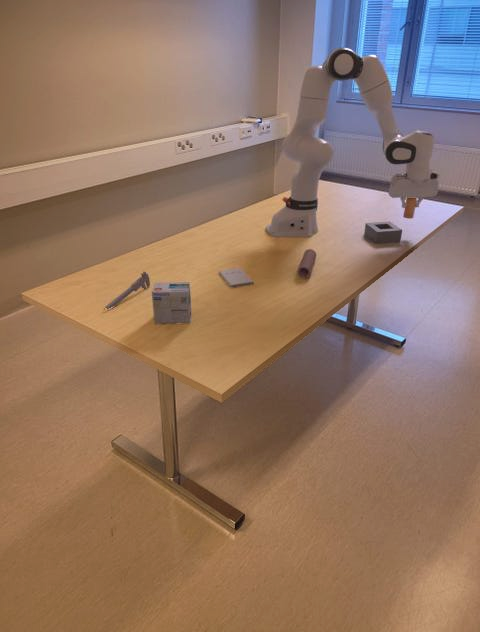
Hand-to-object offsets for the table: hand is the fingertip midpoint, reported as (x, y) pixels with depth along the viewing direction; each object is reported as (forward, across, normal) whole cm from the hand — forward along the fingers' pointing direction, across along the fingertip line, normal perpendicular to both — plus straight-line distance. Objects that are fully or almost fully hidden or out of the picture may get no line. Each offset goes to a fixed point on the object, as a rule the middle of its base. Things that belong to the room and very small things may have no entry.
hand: (410, 207), depth 208 cm
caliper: (+15, -116, -38) cm, 123 cm away
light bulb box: (+14, -103, -54) cm, 117 cm away
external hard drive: (+14, -79, -29) cm, 86 cm away
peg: (+4, 0, 0) cm, 4 cm away
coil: (+14, -52, -26) cm, 60 cm away
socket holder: (+12, -11, -2) cm, 17 cm away
